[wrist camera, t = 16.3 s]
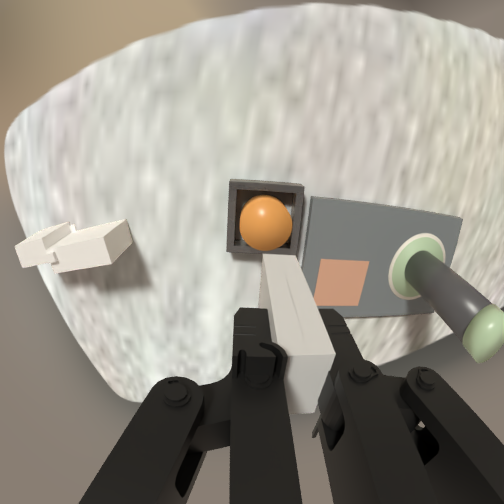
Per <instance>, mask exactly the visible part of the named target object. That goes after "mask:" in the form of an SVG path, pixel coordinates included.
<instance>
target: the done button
mask: <svg viewBox="0 0 504 504" xmlns="http://www.w3.org/2000/svg"><path fill="white" fill-rule="evenodd" d="M291 231H292V219H291V216H290V214H289V212H288V211H287V209H286V207H285V206H284V204H283V203H282V202H281V201H280V200H279V199H278V198H276V197H274V196H271V195H266V194H262V195H257V196H254V197H252V198H251V199H249V200H248V201H247V202H246V203H245V204H244V206H243V208H242V210H241V214H240V232H241V235H242V238H243V239H244V241H245V242H246V243H247V244H248V245H249V246H251V247H252V248H254V249H257V250H261V251H270V250H274V249H277V248H279V247H280V246H282V245H283V244H284V243H285V242H286V241H287V240H288V238H289V236H290V234H291Z"/></svg>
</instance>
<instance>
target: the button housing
mask: <svg viewBox="0 0 504 504" xmlns="http://www.w3.org/2000/svg"><path fill="white" fill-rule="evenodd" d="M237 189H243V190H260V191H274V192H287V193H293V199H292V209H291V219H292V231H291V234H290V236H289V238H288V243H287V242H285V243H284V244H283V245H282V246H280V247H279V248H277V249H274V250H270V251H261V250H257V249H254V248H252V247H251V246H249V245H248V244H247V243H246V242H245V241H244V240H234V238H235V217H236V198H237ZM303 196H304V186H303V185H302V184H297V183H285V182H273V181H259V180H242V179H230V181H229V201H228V224H227V250H226V252H238V253H258V254H277V255H296V253H297V246H298V238H299V230H300V222H301V214H302V205H303Z"/></svg>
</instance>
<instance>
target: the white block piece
mask: <svg viewBox="0 0 504 504" xmlns="http://www.w3.org/2000/svg"><path fill="white" fill-rule="evenodd" d="M132 243H133V241H132V237H131V234H130V230H129V227H128V223H127V219H124V220H120V221H115V222H111V223H107V224H103V225H98V226H94V227H90V228H86V229H82V230H78V231H77V229H76V226H75V224H72V225H70V222H66V223H63V224H59V225H56V226H53V227H49V228H46V229H43V230H40V231H39V232H37V233H35V234H34V235H32V236H30V237H29V238H27V239H26V240H24V241H22V242H21V243H19V244H18V245H16V246H15V249H16V252H17V254H18V257H19V260H20V263H21V265H22V268H25V267H30V266H34V265H39V264H44V263H51V266H52V268H53V271H54V274H55V273H61V272H67V271H73V270H79V269H85V268H91V267H97V266H103V265H109V264H112V263H113V262H114V261H115V260H116V259H117V258H118V257H119V256H120V255H121V254H122V253H123V252H124V251H125V250H126V249H127V248H128V247H129V246H130V245H131V244H132Z"/></svg>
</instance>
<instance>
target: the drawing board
mask: <svg viewBox="0 0 504 504" xmlns="http://www.w3.org/2000/svg"><path fill="white" fill-rule="evenodd" d="M462 221H463V219H461V218H459V217H456V216H450V215H445V214H439V213H434V212H428V211H422V210H416V209H410V208H403V207H396V206H390V205H382V204H375V203H367V202H359V201H351V200H343V199H333V198H324V197H314V196H311V200H310V208H309V216H308V224H307V232H306V239H305V246H304V253H303V260H302V267H301V270H302V272H303V274H304V277H305V279H306V281H307V284H308V286H309V289H310V291H311V293H312V296H313V298H314V301H315V303H316V306H317V308H318V309H335V310H336V311H337V312H338V313H339V314H340V315H342V317H370V316H394V315H411V314H426V313H434V309H433V308H432V307H431V306H430V305H429V304H428V303H427V302H426V301H425V300H424V298H423V297H422V296H421V295H420V294H419V293H418V292H417V291H416V290H415V289H414V288H413V287H412V286H411V285H410V284H409V283H408V282H407V280H406V279H405V274H404V272H405V267H406V264H407V262H408V260H409V259H410V258H411V256H413V255H414V254H415V253H416V252H418V251H422V250H425V251H428V252H430V253H431V254H432V255H434V256H435V257H436V258H438V259H439V260H440V261H442V262H443V263H444V264H446V265H447V266H448V267H449V268H450V265H451V262H452V259H453V255H454V252H455V248H456V245H457V241H458V237H459V233H460V229H461V225H462Z"/></svg>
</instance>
